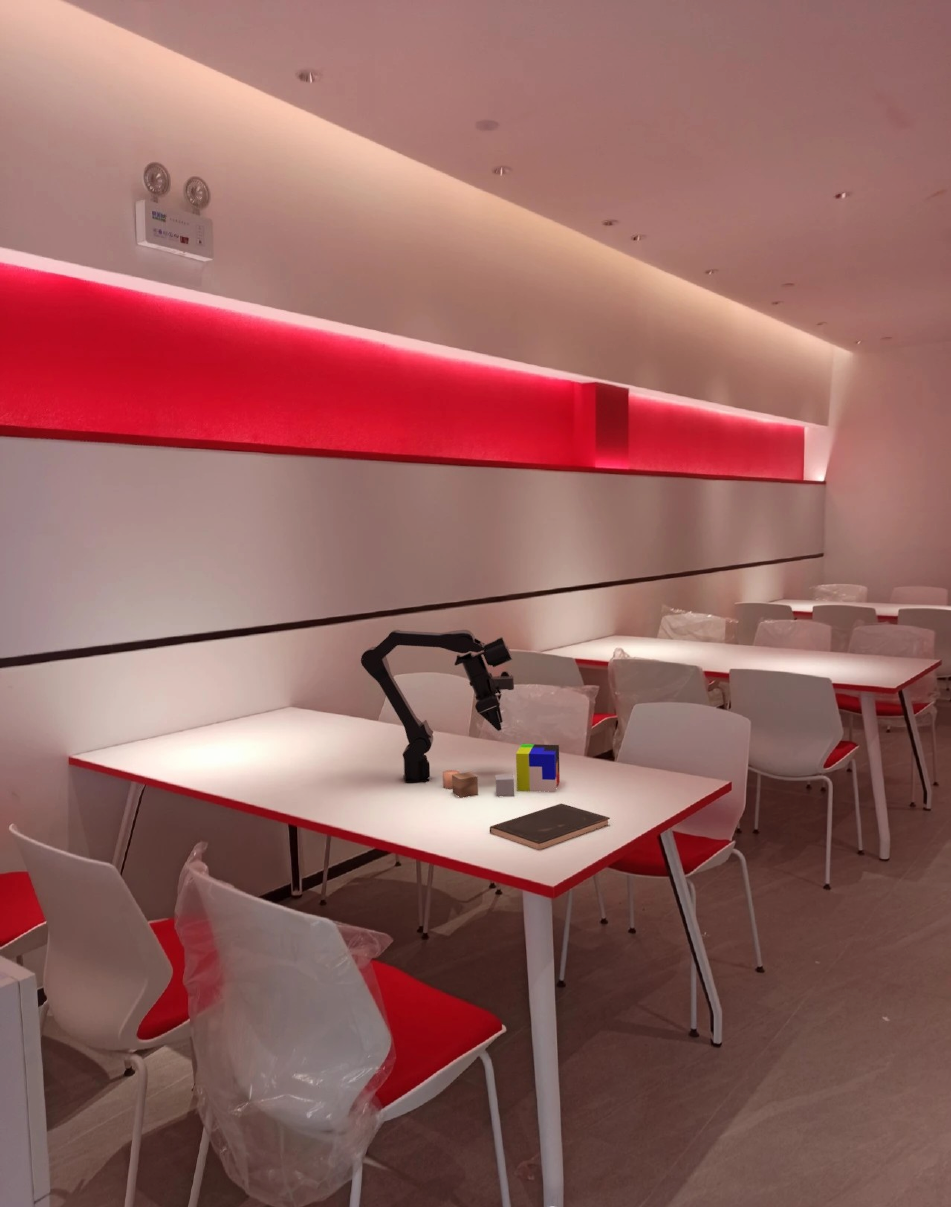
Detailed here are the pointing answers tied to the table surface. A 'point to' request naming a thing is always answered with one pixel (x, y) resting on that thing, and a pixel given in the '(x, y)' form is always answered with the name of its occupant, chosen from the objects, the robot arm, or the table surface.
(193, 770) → the table surface
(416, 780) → the robot arm
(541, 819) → the hardcover book
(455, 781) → the walnut block
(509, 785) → the slate block
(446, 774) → the terracotta cylinder
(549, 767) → the puzzle toy
